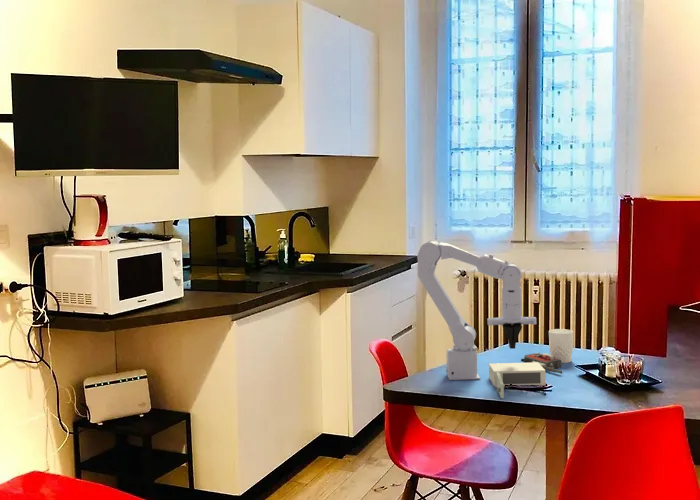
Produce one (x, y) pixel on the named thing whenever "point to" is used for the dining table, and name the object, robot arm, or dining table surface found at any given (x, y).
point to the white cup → (561, 344)
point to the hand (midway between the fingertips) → (512, 347)
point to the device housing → (518, 373)
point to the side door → (500, 385)
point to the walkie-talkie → (544, 361)
